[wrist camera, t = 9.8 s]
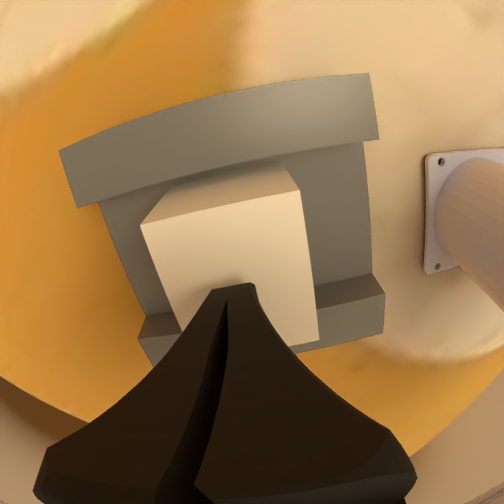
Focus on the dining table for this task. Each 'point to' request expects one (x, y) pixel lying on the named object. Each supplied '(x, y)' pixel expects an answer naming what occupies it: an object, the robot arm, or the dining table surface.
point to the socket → (241, 156)
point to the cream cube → (236, 245)
